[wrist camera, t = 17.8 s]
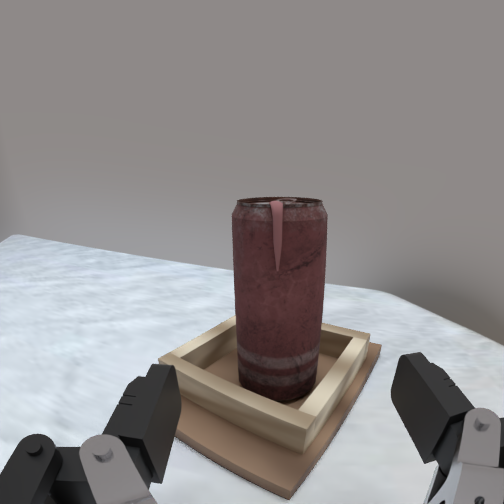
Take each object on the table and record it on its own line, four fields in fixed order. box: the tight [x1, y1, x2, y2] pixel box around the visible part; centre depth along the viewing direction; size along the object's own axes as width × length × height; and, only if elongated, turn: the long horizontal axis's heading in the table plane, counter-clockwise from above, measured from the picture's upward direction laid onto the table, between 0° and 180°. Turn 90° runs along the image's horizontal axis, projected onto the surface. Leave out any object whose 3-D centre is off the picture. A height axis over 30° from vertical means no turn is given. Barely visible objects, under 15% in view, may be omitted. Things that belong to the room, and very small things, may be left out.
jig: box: [158, 315, 382, 500], centre depth 23 cm, size 18×14×4 cm
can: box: [232, 197, 327, 403], centre depth 21 cm, size 6×6×14 cm
